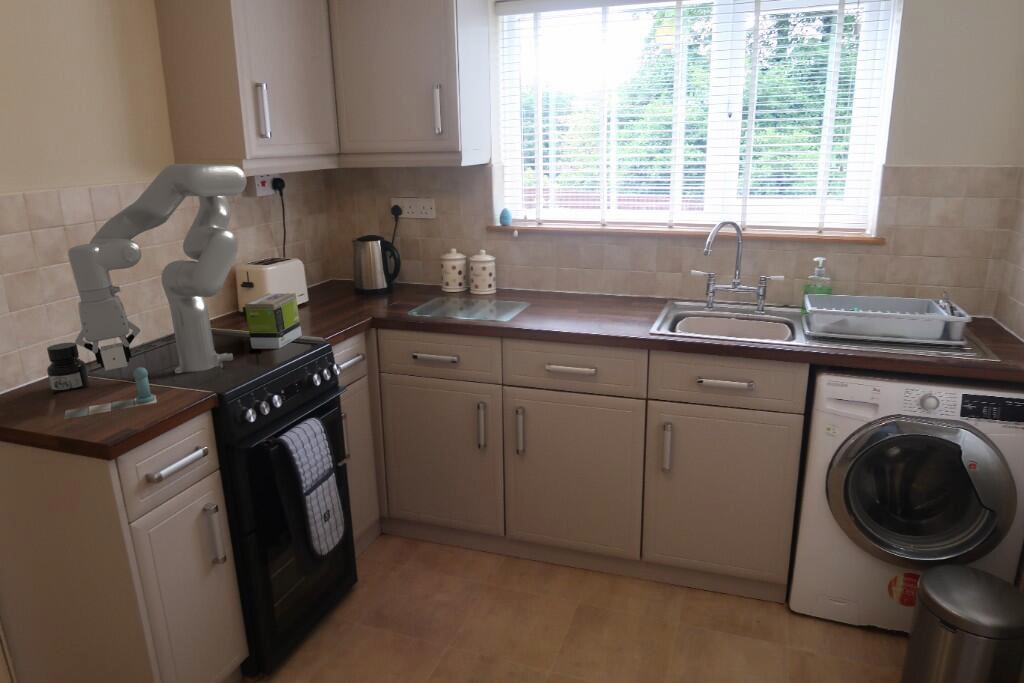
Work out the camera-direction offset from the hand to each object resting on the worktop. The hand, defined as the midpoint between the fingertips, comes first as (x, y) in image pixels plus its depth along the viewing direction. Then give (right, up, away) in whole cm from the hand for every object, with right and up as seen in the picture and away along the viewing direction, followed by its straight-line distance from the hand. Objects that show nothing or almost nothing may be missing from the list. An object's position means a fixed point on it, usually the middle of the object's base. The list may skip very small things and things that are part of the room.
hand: (115, 362), depth 185 cm
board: (+3, -12, -8) cm, 14 cm away
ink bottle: (-18, -8, +11) cm, 22 cm away
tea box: (+26, +5, +48) cm, 55 cm away
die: (0, -1, 0) cm, 1 cm away
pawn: (+10, -9, -5) cm, 14 cm away
